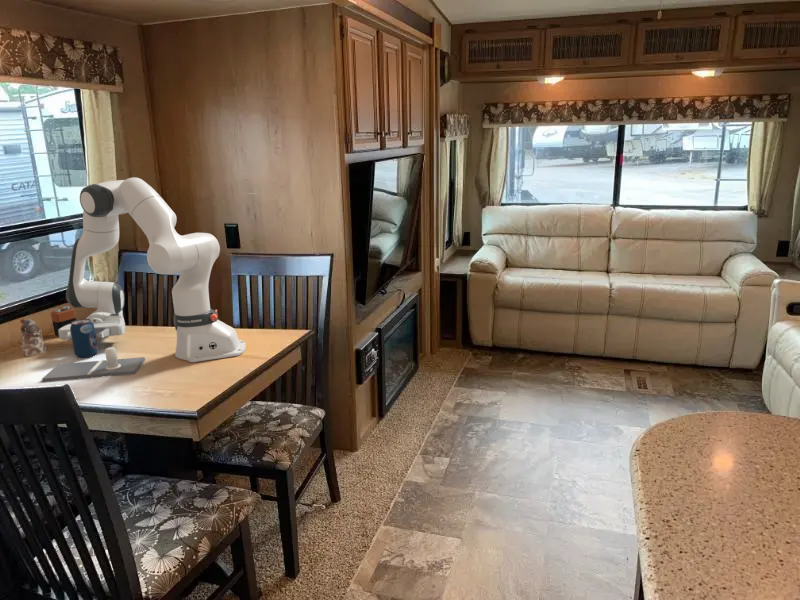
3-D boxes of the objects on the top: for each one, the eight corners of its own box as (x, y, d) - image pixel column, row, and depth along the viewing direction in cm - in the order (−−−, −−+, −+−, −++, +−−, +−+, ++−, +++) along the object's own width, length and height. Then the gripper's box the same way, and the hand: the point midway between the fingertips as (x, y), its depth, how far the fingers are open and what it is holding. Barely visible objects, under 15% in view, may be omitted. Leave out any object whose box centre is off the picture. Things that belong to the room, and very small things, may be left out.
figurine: (35, 356, 196) (28, 322, 193) (17, 355, 197) (10, 321, 194) (51, 349, 202) (45, 316, 199) (34, 348, 204) (27, 315, 201)
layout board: (145, 359, 189) (141, 339, 187) (134, 373, 178) (131, 352, 176) (58, 367, 186) (54, 346, 184) (42, 381, 174) (38, 359, 172)
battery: (79, 332, 221) (74, 306, 218) (61, 337, 215) (56, 311, 213) (72, 330, 223) (67, 305, 221) (54, 335, 218) (49, 309, 215)
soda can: (99, 356, 194) (93, 322, 190) (75, 361, 190) (69, 325, 187) (98, 350, 199) (92, 317, 196) (75, 354, 196) (68, 320, 193)
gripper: (65, 318, 204) (49, 330, 191) (127, 314, 207) (115, 325, 194) (68, 335, 206) (52, 348, 193) (130, 331, 209) (118, 343, 196)
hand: (84, 337), depth 193 cm, fingers open, 8 cm apart
